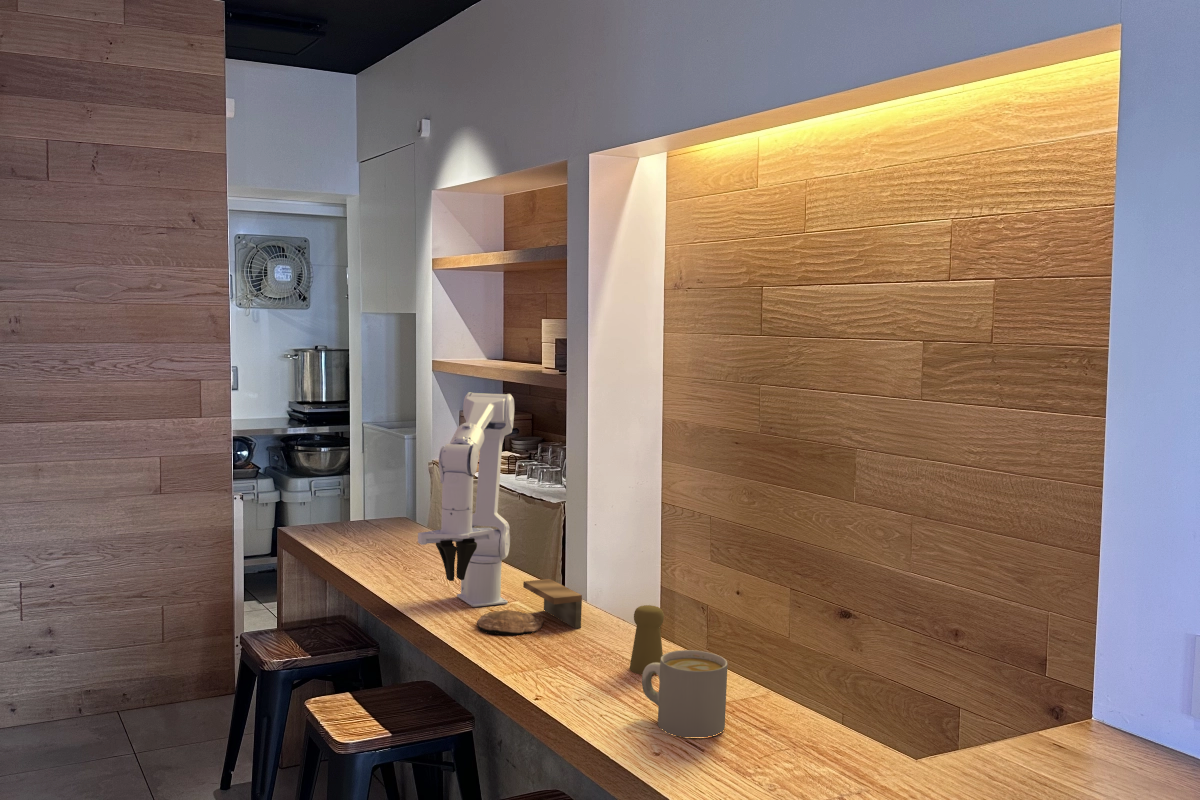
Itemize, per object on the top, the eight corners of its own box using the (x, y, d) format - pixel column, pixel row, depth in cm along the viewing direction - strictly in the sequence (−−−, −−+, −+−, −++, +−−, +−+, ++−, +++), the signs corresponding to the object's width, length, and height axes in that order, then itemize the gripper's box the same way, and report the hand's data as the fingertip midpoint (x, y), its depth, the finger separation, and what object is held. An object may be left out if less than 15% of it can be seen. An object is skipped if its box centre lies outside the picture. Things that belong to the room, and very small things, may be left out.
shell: (536, 640, 196) (537, 621, 196) (470, 636, 197) (470, 617, 197) (545, 623, 208) (546, 605, 207) (482, 619, 209) (483, 601, 209)
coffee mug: (738, 727, 156) (741, 661, 155) (695, 745, 148) (698, 676, 148) (670, 702, 165) (672, 640, 164) (627, 717, 158) (629, 653, 157)
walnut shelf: (522, 612, 213) (523, 581, 212) (548, 609, 216) (549, 578, 215) (553, 631, 201) (554, 598, 200) (580, 628, 204) (582, 595, 203)
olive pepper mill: (622, 667, 181) (624, 605, 180) (647, 661, 185) (650, 600, 184) (645, 677, 176) (648, 613, 176) (671, 670, 180) (674, 608, 179)
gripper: (427, 513, 188) (425, 587, 189) (501, 509, 196) (499, 580, 196) (414, 507, 195) (412, 578, 196) (486, 503, 202) (484, 572, 203)
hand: (455, 579), depth 196 cm, fingers closed
